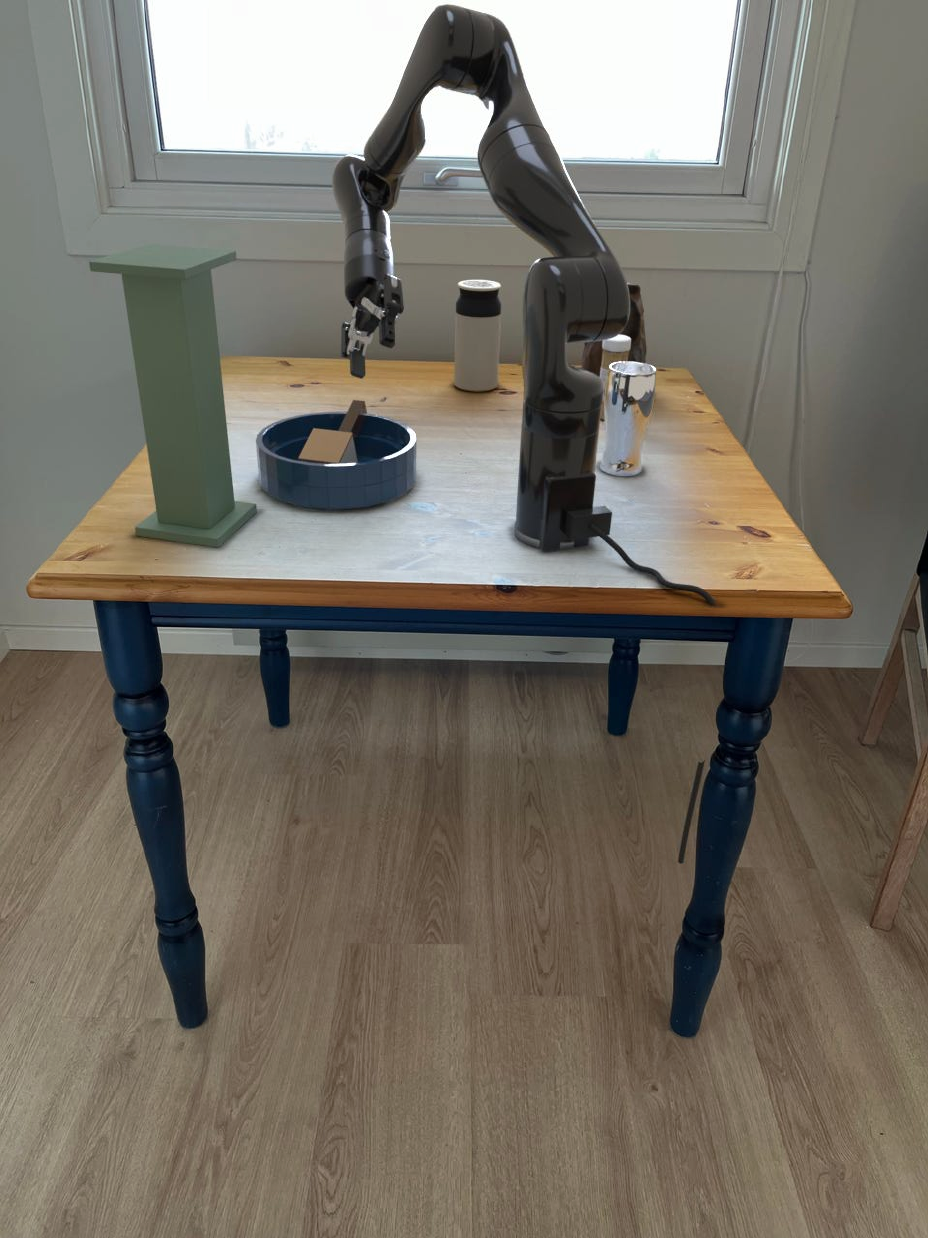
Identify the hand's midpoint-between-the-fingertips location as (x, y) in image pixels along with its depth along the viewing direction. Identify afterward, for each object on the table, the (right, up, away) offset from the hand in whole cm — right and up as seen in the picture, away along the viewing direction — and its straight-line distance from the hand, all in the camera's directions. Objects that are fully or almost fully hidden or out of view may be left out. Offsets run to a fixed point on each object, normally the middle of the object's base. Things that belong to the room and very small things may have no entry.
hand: (372, 361), depth 137 cm
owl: (+41, +4, +36) cm, 55 cm away
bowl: (-4, -18, -4) cm, 19 cm away
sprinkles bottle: (+38, -3, +24) cm, 45 cm away
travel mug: (+15, +5, +37) cm, 40 cm away
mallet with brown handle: (-4, -14, -4) cm, 15 cm away
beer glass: (+36, -15, +3) cm, 40 cm away
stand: (-20, -25, -17) cm, 37 cm away
